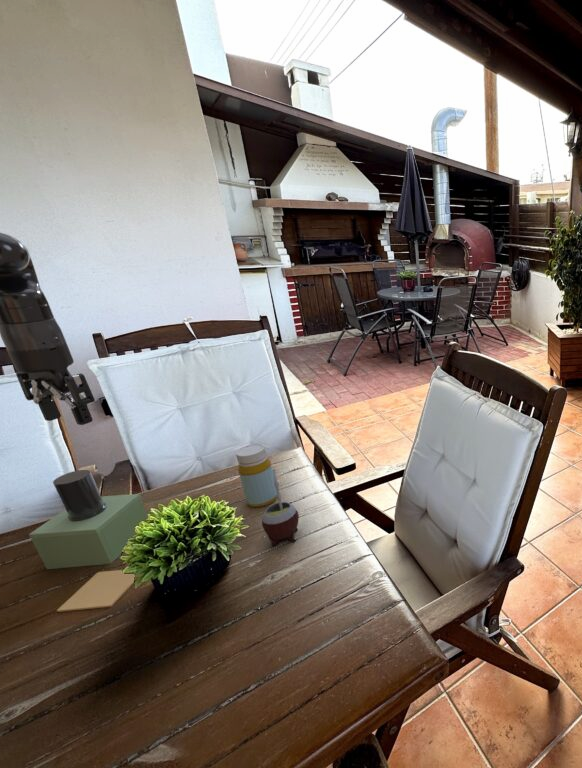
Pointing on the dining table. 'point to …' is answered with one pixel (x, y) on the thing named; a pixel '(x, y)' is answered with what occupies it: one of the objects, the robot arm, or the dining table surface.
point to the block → (89, 534)
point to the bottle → (256, 475)
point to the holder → (79, 495)
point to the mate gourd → (280, 519)
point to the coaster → (99, 591)
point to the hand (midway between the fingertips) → (69, 421)
